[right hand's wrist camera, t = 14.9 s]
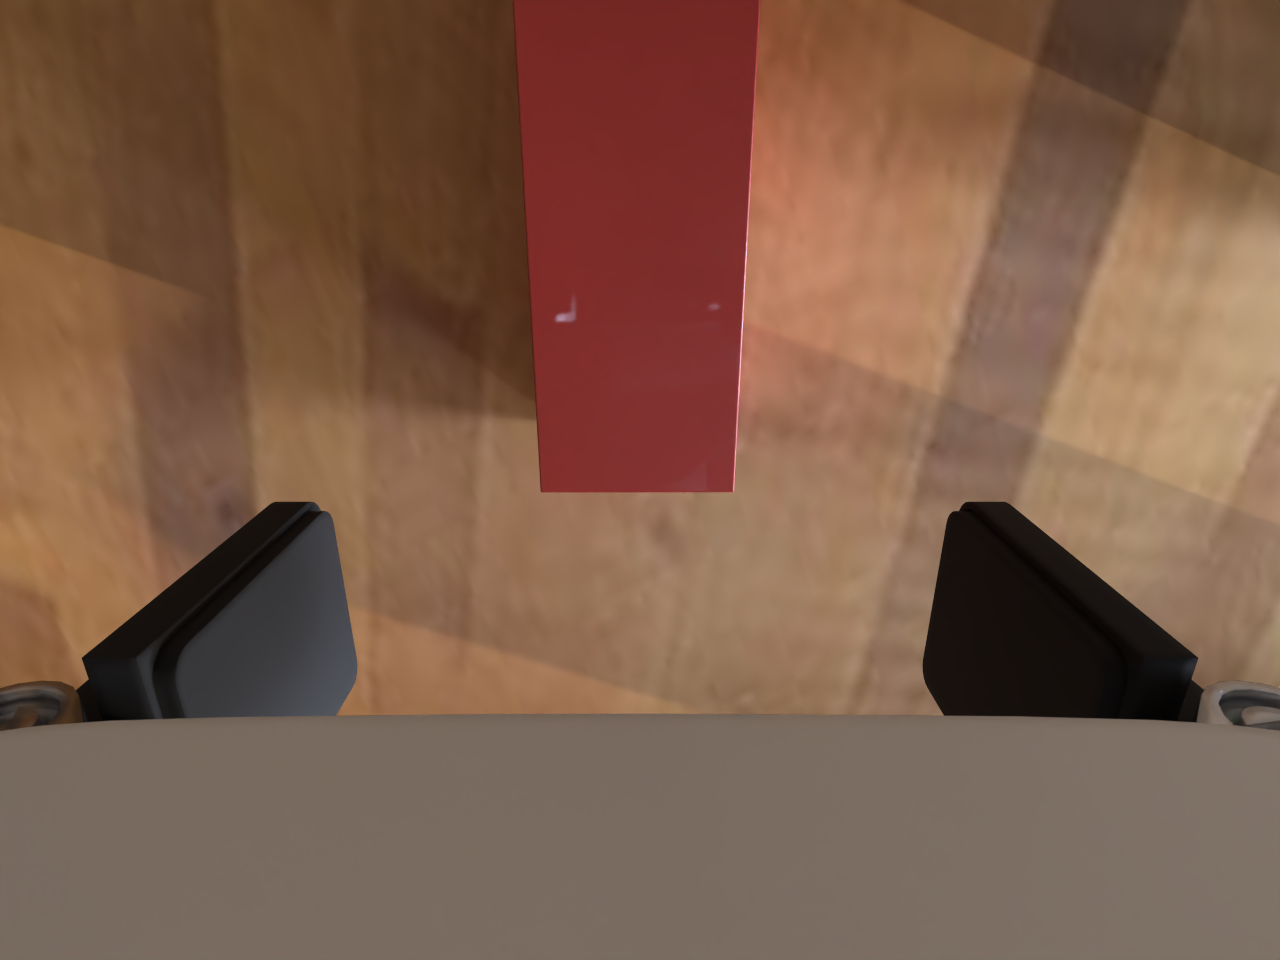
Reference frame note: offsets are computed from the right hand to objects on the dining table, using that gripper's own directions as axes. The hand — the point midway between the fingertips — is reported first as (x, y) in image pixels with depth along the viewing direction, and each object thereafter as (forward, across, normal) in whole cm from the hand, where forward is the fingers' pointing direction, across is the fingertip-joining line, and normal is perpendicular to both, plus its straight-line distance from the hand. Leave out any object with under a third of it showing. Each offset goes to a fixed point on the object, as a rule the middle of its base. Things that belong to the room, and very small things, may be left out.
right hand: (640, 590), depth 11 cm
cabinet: (+20, 0, -6) cm, 22 cm away
